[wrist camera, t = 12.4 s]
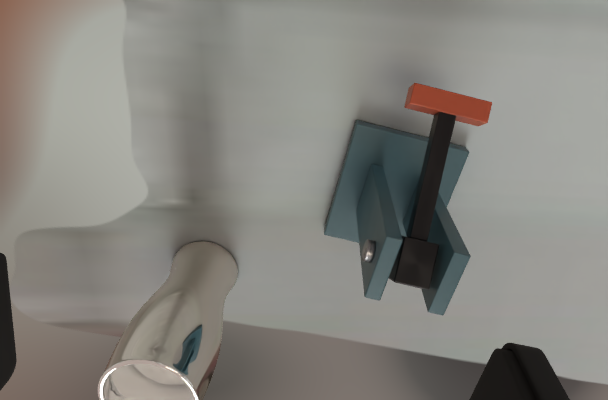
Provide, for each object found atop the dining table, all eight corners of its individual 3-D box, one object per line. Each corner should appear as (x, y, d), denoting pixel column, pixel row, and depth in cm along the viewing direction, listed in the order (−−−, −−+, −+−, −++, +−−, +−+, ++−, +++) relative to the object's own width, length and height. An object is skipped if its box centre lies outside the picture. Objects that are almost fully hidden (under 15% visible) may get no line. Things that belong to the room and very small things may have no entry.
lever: (406, 89, 31) (417, 79, 28) (479, 108, 31) (496, 100, 28) (363, 271, 30) (371, 276, 28) (438, 288, 31) (451, 295, 28)
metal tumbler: (246, 242, 42) (204, 366, 29) (240, 304, 45) (200, 444, 32) (168, 230, 42) (90, 350, 28) (167, 294, 45) (96, 429, 31)
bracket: (355, 119, 37) (366, 183, 25) (465, 146, 37) (525, 222, 26) (324, 228, 41) (320, 325, 30) (423, 251, 42) (457, 357, 30)
